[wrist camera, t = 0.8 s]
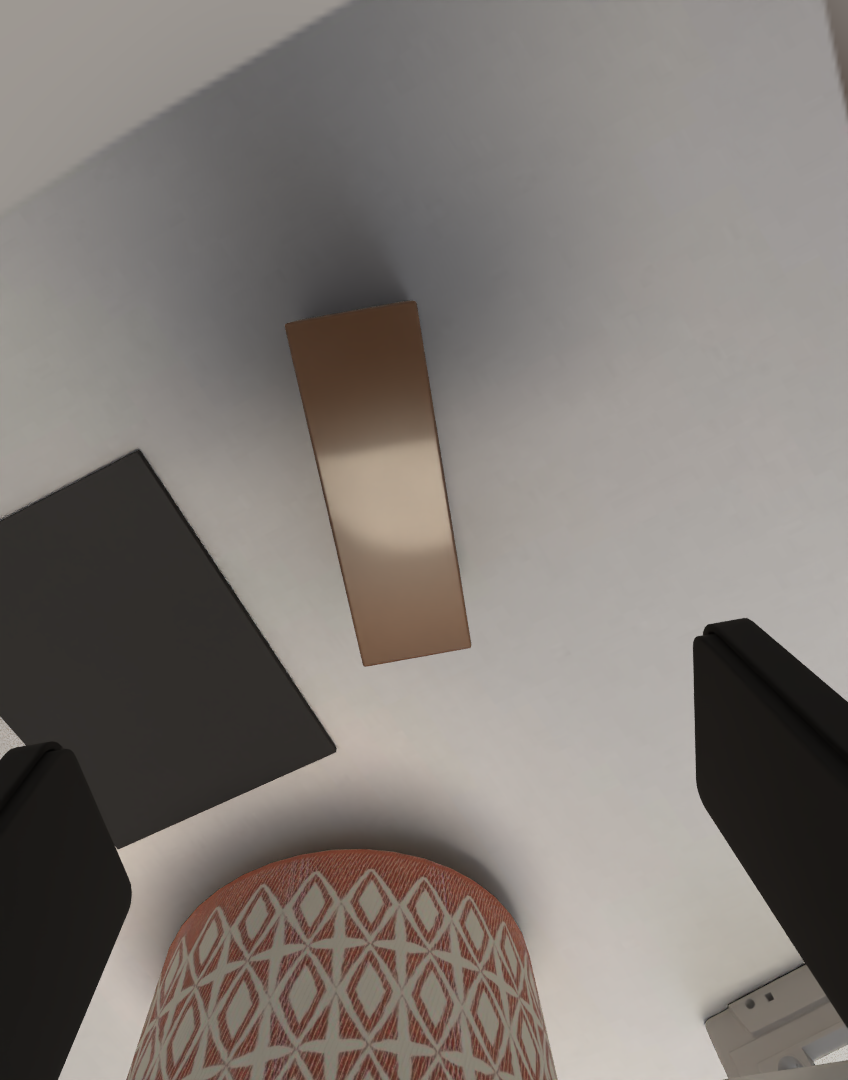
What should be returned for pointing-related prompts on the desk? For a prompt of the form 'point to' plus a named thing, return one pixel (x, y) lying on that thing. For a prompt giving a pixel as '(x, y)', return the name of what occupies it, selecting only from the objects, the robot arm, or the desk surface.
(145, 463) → the black mat
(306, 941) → the planter
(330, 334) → the bar
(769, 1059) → the cassette
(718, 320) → the desk surface
